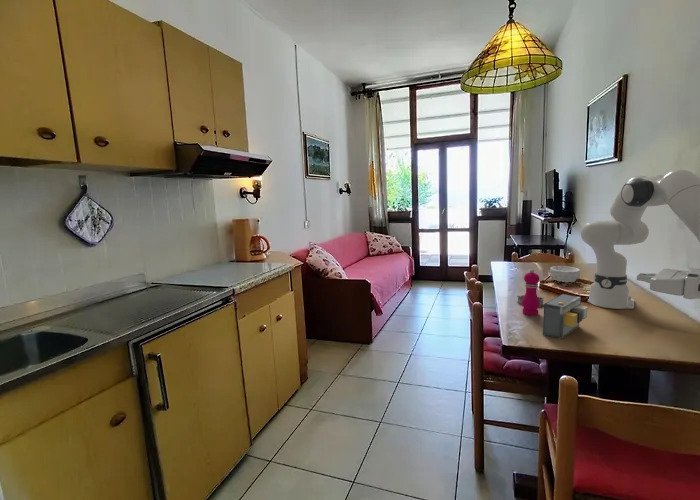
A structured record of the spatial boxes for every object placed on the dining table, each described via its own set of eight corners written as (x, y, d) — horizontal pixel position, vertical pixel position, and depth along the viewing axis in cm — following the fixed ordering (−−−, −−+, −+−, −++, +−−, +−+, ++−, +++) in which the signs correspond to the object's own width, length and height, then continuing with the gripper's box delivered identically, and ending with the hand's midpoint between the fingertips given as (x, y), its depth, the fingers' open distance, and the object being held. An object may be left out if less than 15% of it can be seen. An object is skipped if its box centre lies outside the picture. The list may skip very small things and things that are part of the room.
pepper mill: (541, 316, 154) (543, 270, 152) (523, 315, 156) (525, 270, 153) (536, 311, 161) (538, 267, 158) (519, 310, 163) (520, 267, 160)
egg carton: (515, 303, 174) (515, 295, 173) (522, 300, 179) (522, 292, 178) (538, 308, 166) (539, 299, 165) (545, 304, 171) (545, 296, 170)
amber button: (564, 321, 134) (565, 311, 133) (576, 324, 131) (577, 313, 130) (561, 324, 131) (561, 313, 131) (573, 327, 128) (573, 316, 128)
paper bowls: (576, 286, 200) (577, 272, 198) (546, 282, 210) (546, 269, 209) (582, 280, 211) (582, 267, 209) (553, 277, 221) (553, 264, 220)
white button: (575, 314, 141) (575, 304, 140) (587, 317, 138) (587, 307, 137) (572, 316, 138) (572, 306, 138) (583, 319, 135) (584, 309, 135)
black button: (570, 318, 137) (570, 308, 136) (582, 320, 134) (582, 310, 133) (566, 320, 135) (567, 310, 134) (578, 323, 132) (579, 312, 131)
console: (561, 322, 147) (562, 292, 145) (579, 326, 142) (580, 295, 140) (542, 334, 135) (544, 302, 133) (561, 339, 130) (563, 305, 128)
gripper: (702, 267, 112) (646, 262, 123) (692, 278, 99) (630, 272, 110) (700, 286, 113) (644, 280, 124) (690, 300, 100) (629, 292, 111)
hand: (638, 276), depth 117 cm, fingers closed
